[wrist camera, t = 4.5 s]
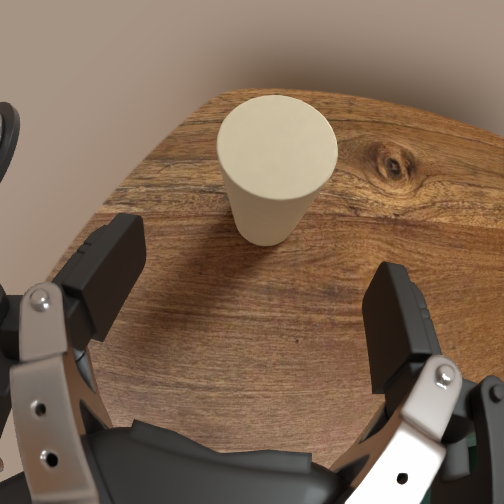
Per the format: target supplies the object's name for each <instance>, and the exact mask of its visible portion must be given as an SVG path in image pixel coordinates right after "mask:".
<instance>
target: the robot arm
mask: <svg viewBox="0 0 504 504" xmlns="http://www.w3.org/2000/svg"><path fill="white" fill-rule="evenodd" d="M4 133H5V119H4V116H3V115H2V114H1V113H0V148H1V145H2V142H3V138H4ZM145 262H146V245H145V236H144V226H143V219H142V217H141V216H138V215H132V214H126V213H119V214H117V215H116V217H115V218H114V219H113V220H112V221H111V222H110V223H109V224H108V225H103V226H102V227H100V228H99V229H97V230H95V231H94V232H92V233H91V234H90V235H89V237H88V238H87V239H86V240H85V241H84V244H82V245H81V246H80V247H79V248H78V249H77V252H75V253H74V254H73V255H72V257H71V258H70V259H69V260H68V262H67V263H66V264H65V265H64V267H63V268H62V269H61V270H60V272H59V273H58V274H57V275H56V277H55V278H54V279H53V281H52V282H43V283H39V284H36V285H34V286H32V287H31V288H30V289H28V290H27V291H26V292H25V294H24V295H6V293H5V291H4V289H3V287H2V286H1V284H0V438H1V435H2V432H3V429H4V427H5V424H6V421H7V418H8V416H9V413H10V411H11V408H12V410H13V418H14V424H15V431H16V436H17V442H18V447H19V452H20V457H21V461H22V465H23V469H24V471H23V472H21V473H19V474H17V475H15V476H12V477H11V478H8V479H6V480H4V481H2V482H0V504H420V502H421V500H422V499H423V497H424V495H425V493H426V492H427V490H428V488H429V486H430V504H504V383H503V382H502V381H501V380H500V379H499V378H498V377H496V376H493V375H490V376H487V377H486V378H484V379H483V380H482V381H481V382H480V383H479V384H478V383H475V382H472V381H469V380H467V379H464V378H462V375H461V372H460V370H459V368H458V367H457V365H456V364H455V363H454V362H453V361H452V360H451V359H449V358H448V357H446V356H443V355H442V352H441V349H440V345H439V342H438V339H437V335H436V332H435V329H434V326H433V322H432V319H430V317H431V316H430V313H429V310H428V309H427V305H426V302H425V299H424V296H423V294H422V292H421V291H420V290H419V288H418V287H417V286H416V284H415V283H414V282H411V281H410V278H409V276H408V273H407V270H406V268H405V266H404V265H400V264H395V263H390V262H385V261H383V262H382V263H381V264H380V265H379V267H378V269H377V271H376V273H375V275H374V277H373V279H372V281H371V283H370V285H369V287H368V289H367V291H366V293H365V295H364V298H363V303H362V314H363V320H364V327H365V334H366V341H367V348H368V356H369V365H370V374H371V384H372V394H385V402H383V403H382V405H381V406H380V407H379V409H378V410H377V412H376V413H375V415H374V416H373V418H372V419H371V421H370V422H369V423H368V425H367V426H366V428H365V429H364V430H363V432H362V433H361V434H360V436H359V437H358V438H357V440H356V441H355V442H354V444H353V445H352V446H351V447H350V448H349V449H348V450H347V451H346V452H345V453H344V454H343V455H341V456H340V457H339V458H338V459H337V460H336V461H335V462H334V463H333V465H332V466H331V467H330V468H329V469H327V468H325V467H324V466H321V465H319V464H317V463H314V462H311V460H312V453H301V452H288V451H278V450H269V449H268V450H259V451H248V452H234V453H219V452H216V451H213V450H211V449H209V448H207V447H205V446H203V445H201V444H199V443H197V442H195V441H193V440H191V439H189V438H187V437H185V436H183V435H181V434H179V433H177V432H175V431H171V430H167V429H164V428H160V427H157V426H154V425H151V424H147V423H144V422H141V421H138V420H135V419H134V420H133V423H132V426H131V427H116V428H113V425H112V422H111V420H110V417H109V415H108V413H107V411H106V409H105V407H104V405H103V402H102V400H101V397H100V394H99V390H98V386H97V383H96V379H95V375H94V371H93V366H92V362H91V358H90V353H89V349H88V347H87V345H88V343H89V341H90V340H91V338H92V339H94V340H97V341H100V342H103V341H104V339H105V337H106V335H107V334H108V332H109V330H110V328H111V326H112V324H113V322H114V320H115V318H116V317H117V315H118V313H119V311H120V309H121V307H122V306H123V304H124V302H125V300H126V298H127V297H128V295H129V293H130V291H131V289H132V288H133V286H134V284H135V282H136V281H137V279H138V277H139V276H140V274H141V272H142V270H143V268H144V266H145ZM474 432H475V436H476V445H477V457H478V462H477V466H476V468H475V470H474V471H473V472H472V473H471V474H470V472H469V456H468V444H467V436H469V435H471V434H472V433H474ZM3 468H4V466H3V461H2V459H1V458H0V472H1V471H2V470H3Z"/></svg>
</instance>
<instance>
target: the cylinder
mask: <svg viewBox="0 0 504 504" xmlns="http://www.w3.org/2000/svg"><path fill="white" fill-rule="evenodd" d="M216 150H217V156H218V160H219V164H220V168H221V172H222V175H223V179H224V183H225V187H226V191H227V194H228V198H229V202H230V206H231V209H232V213H233V217H234V220H235V224H236V227H237V229H238V231H239V233H240V234H241V235H242V236H243V237H244V238H245V239H246V240H248V241H249V242H251V243H253V244H256V245H259V246H272V245H276V244H278V243H281V242H282V241H284V240H285V239H286V238H287V237H288V236H289V235H290V234H291V233H292V231H293V230H294V228H295V227H296V226H297V224H298V223H299V221H300V220H301V218H302V217H303V215H304V214H305V213H306V211H307V210H308V208H309V207H310V205H311V204H312V202H313V201H314V200H315V198H316V197H317V195H318V194H319V192H320V191H321V189H322V188H323V186H324V185H325V184H326V182H327V181H328V179H329V178H330V176H331V175H332V173H333V171H334V168H335V165H336V162H337V156H338V148H337V141H336V138H335V134H334V132H333V130H332V128H331V126H330V124H329V123H328V121H327V120H326V119H325V118H324V117H323V116H322V115H321V114H320V113H319V112H318V111H317V110H316V109H314V108H313V107H312V106H310V105H308V104H307V103H305V102H302V101H300V100H298V99H295V98H291V97H287V96H279V95H270V96H262V97H257V98H254V99H251V100H248V101H246V102H244V103H242V104H241V105H239V106H237V107H236V108H235V109H234V110H232V111H231V113H230V114H229V115H228V116H227V117H226V118H225V120H224V121H223V123H222V125H221V127H220V129H219V132H218V135H217V141H216Z"/></svg>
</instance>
